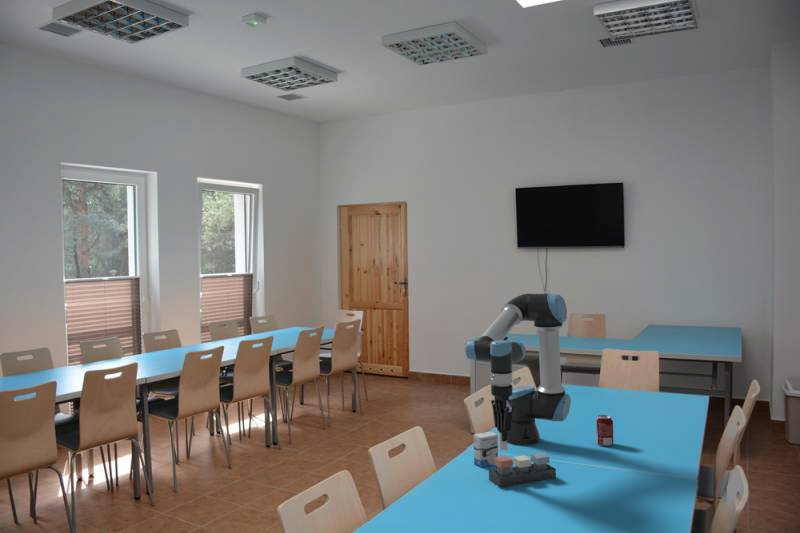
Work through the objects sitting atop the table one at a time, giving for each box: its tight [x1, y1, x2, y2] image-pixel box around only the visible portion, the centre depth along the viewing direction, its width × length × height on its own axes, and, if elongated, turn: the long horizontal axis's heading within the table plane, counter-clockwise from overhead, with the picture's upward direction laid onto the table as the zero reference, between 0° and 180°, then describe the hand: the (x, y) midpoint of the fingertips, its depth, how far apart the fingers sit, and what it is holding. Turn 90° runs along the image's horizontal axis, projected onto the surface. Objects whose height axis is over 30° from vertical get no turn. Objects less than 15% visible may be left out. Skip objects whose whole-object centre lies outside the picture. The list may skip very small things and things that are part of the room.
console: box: [488, 463, 557, 489], centre depth 224 cm, size 23×8×4 cm, turn 109°
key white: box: [512, 454, 532, 473], centre depth 224 cm, size 5×5×5 cm
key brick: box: [494, 455, 514, 476], centre depth 222 cm, size 5×5×5 cm
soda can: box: [595, 414, 614, 448], centre depth 261 cm, size 7×7×12 cm
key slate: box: [530, 452, 550, 470], centre depth 227 cm, size 5×5×5 cm
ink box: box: [473, 431, 499, 468], centre depth 241 cm, size 8×5×12 cm, turn 117°
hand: (503, 449), depth 222 cm, fingers closed
